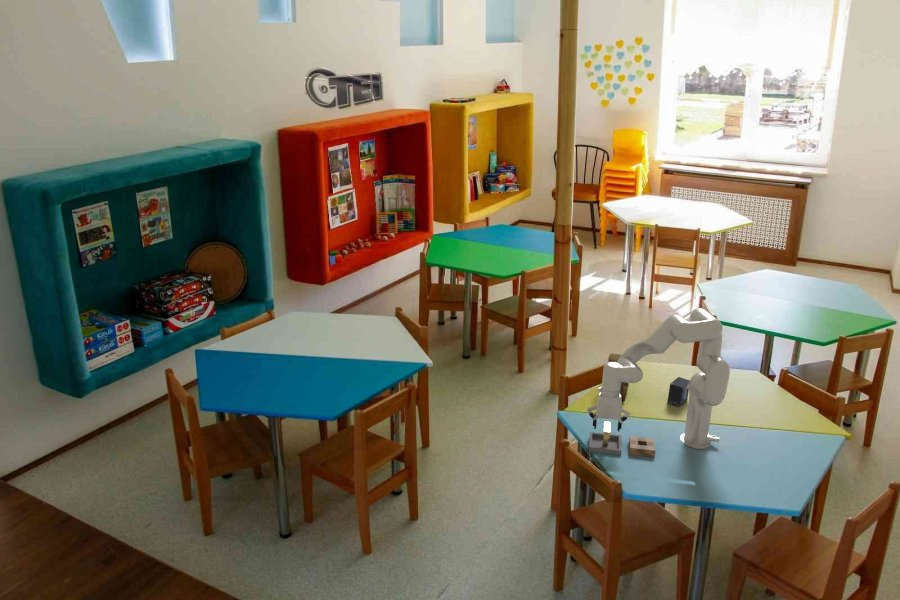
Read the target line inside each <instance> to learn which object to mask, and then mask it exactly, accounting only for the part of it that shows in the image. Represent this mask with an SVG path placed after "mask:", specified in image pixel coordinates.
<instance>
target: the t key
mask: <svg viewBox="0 0 900 600" xmlns="http://www.w3.org/2000/svg"><path fill="white" fill-rule="evenodd" d="M603 433H604V435H603V444H602V445H603V446H604V447H607V446H608V443H609V438H610V434H611V421H604V423H603Z"/></svg>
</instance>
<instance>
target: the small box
mask: <svg viewBox="0 0 900 600" xmlns="http://www.w3.org/2000/svg"><path fill="white" fill-rule="evenodd" d="M689 382H690V379H686V378H683V377H680V376H678V377H676V378H674V380H673V381H672V382H671V383H669V389H668V396H667V402H666V403H667V404H668V405H671V406H675V407H677V408H679V407H682V405H683V404H685V402H687V401H688V400H689Z"/></svg>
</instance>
